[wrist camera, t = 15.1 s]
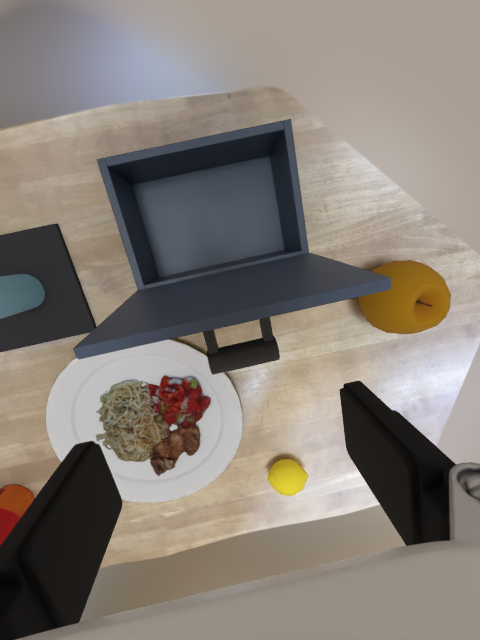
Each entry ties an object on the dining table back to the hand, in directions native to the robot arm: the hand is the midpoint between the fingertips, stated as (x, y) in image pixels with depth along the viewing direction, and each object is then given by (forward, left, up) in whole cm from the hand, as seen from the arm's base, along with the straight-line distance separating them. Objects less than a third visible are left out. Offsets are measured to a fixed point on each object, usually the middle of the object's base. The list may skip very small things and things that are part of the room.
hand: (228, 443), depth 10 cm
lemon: (+32, +4, -31) cm, 45 cm away
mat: (-7, -26, -31) cm, 41 cm away
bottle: (-7, -26, -30) cm, 40 cm away
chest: (-11, +1, -31) cm, 33 cm away
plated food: (+17, -16, -31) cm, 39 cm away
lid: (-4, +1, -14) cm, 15 cm away
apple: (+4, +23, -31) cm, 39 cm away
